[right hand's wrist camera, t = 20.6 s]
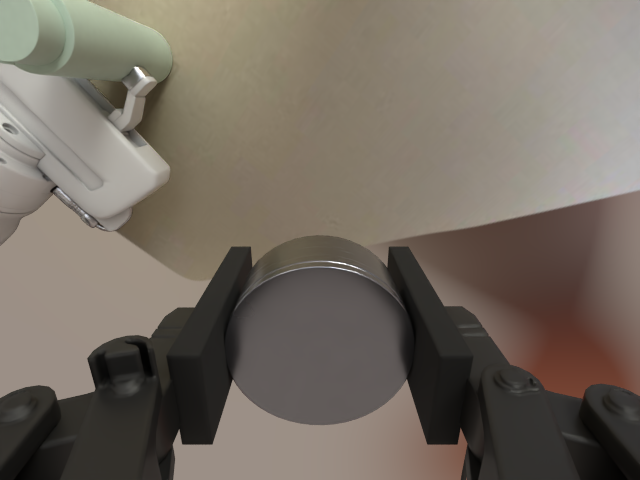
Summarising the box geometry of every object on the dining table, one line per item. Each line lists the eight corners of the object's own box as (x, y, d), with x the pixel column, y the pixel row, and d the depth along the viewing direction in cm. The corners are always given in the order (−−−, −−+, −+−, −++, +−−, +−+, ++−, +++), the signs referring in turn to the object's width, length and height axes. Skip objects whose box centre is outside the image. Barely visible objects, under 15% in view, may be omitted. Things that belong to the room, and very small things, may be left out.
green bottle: (117, 22, 34) (-66, -47, 18) (171, 29, 34) (39, -34, 18) (121, 81, 35) (-42, 65, 19) (173, 87, 35) (54, 77, 20)
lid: (284, 390, 14) (277, 446, 12) (211, 273, 12) (186, 312, 10) (420, 341, 13) (441, 390, 11) (363, 207, 11) (374, 234, 9)
